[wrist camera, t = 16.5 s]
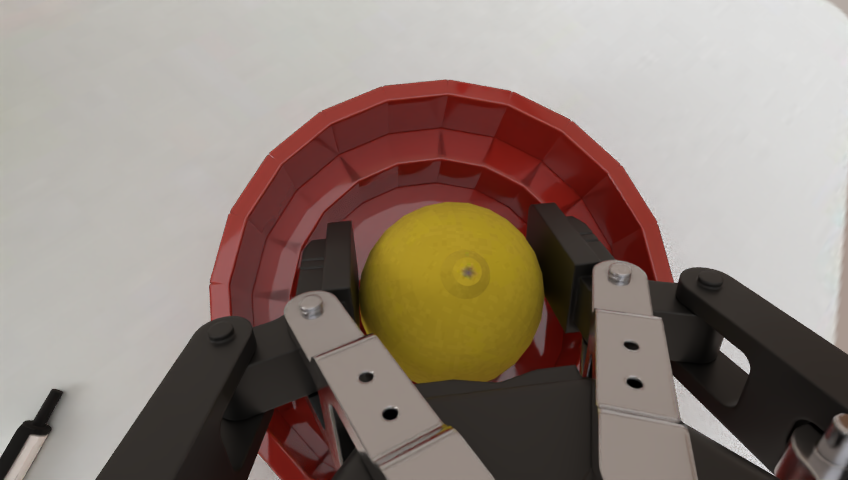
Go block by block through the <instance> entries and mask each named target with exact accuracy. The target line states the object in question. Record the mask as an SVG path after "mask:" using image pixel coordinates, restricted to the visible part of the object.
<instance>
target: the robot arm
mask: <svg viewBox="0 0 848 480" xmlns="http://www.w3.org/2000/svg"><path fill="white" fill-rule="evenodd" d="M526 240H527V241H528V243H529V244H530V246H531V247H532V249H533V251H534V252H535V254H536V257H537V260H538V263H539V266H540V268H541V271H542V276H543V286H544V295H545V297H546V299H547V301H548V303H549V304H550V306H551V308H552V310H553V312H554V313H555V315H556V317H557V319H558V321H559V323H560V324H561V326H562V328H563V330H564V332H565V333H573V332H580V333H581V334H582V338H581V344H580V363H579V370H578V368H577V366H576V365H568V366H560V367H551V368H543V369H536V370H533V371H530V372H527V373H524V374H522V375H519V376H516V377H513V378H510V379H507V380H505V381H502V382H481V381H469V380H456V379H452V380H444V381H436V382H427V383H419V384H413V383H412V381H411V380H410V379H409V377H408V376H407V375H406V373H405V372H404V371H403V370H402V368H401V367H400V366H399V364H398V363H397V362H396V360H395V359H394V358H393V356H392V355H391V354H390V352H389V351H388V350H387V348H386V347H385V346H384V344H383V343H382V342H381V341H380V339H379V338H378V337H377V336H376V335H375V334H374V333H370V334H368V335H364V334H363V333H362V331H361V330H360V314H359V275H358V265H357V257H356V250H355V242H354V234H353V227H352V221H342V222H331V223H328V224H327V233H326V239H318V240H311V241H310V243H309V244H308V245H307V246H306V247H305V248H304V249H303V254H302V262H301V266H300V272H299V278H298V284H297V290H296V296H295V297H294V298H292V299H291V300H290V301H289V302H288V303H287V304H286V306H285V308H284V315H283V316H281V317H279V318H277V319H275V320H273V321H270V322H268V323H265V324H261V325H258V326H255V327H252V325H251V323H250V322H249V320H247V319H246V318H243V317H239V316H226V317H221V318H217V319H215V320H212V321H210V322H208V323H206V324H205V325H203V326H202V327H200V328H199V329H198V330H197V331H196V332H195V334H194V335H193V336H192V338H191V339H190V341H189V342H188V344H187V345H186V347H185V348H184V350H183V351H182V353H181V354H180V356H179V357H178V359H177V360H176V361H175V363H174V364H173V366H172V367H171V369H170V370H169V372H168V373H167V375H166V376H165V378H164V379H163V381H162V382H161V384H160V385H159V387H158V388H157V389H156V391H155V392H154V394H153V395H152V397H151V398H150V400H149V401H148V403H147V404H146V406H145V407H144V409H143V410H142V412H141V413H140V415H139V416H138V417H137V419H136V420H135V422H134V423H133V425H132V426H131V428H130V429H129V431H128V432H127V434H126V435H125V437H124V438H123V440H122V441H121V443H120V444H119V446H118V447H117V448H116V450H115V451H114V453H113V454H112V456H111V457H110V459H109V460H108V462H107V463H106V465H105V466H104V468H103V469H102V471H101V472H100V474H99V475H98V476H97V478H96V479H95V480H247V479H248V477H249V474H250V472H251V469H252V466H253V464H254V461H255V459H256V456H257V454H258V451H259V449H260V446H261V444H262V441H263V439H264V436H265V434H266V431H267V428H268V426H269V423H270V421H271V418H272V416H273V413H274V408H277V407H279V406H282V405H284V404H287V403H289V402H292V401H295V400H297V399H300V398H302V397H305V399H306V401H307V403H308V406H309V408H310V410H311V412H312V414H313V416H314V418H315V420H316V422H317V424H318V426H319V428H320V430H321V432H322V434H323V436H324V438H325V441H326V443H327V445H328V448H329V450H330V453H331V456H332V460H333V463H334V465H335V468H336V471H337V472H336V473H335V475H334V476H333V477H332V479H331V480H848V354H846V353H845V352H843V351H842V350H840V349H839V348H837V347H836V346H834V345H833V344H831V343H830V342H828V341H827V340H825V339H824V338H822V337H821V336H819V335H818V334H816V333H815V332H813V331H812V330H810V329H809V328H807V327H806V326H804V325H803V324H801V323H800V322H798V321H797V320H795V319H794V318H792V317H791V316H789V315H788V314H786V313H785V312H783V311H782V310H780V309H779V308H777V307H776V306H774V305H773V304H771V303H770V302H768V301H767V300H765V299H764V298H762V297H761V296H759V295H758V294H756V293H755V292H753V291H752V290H750V289H749V288H747V287H746V286H744V285H743V284H741V283H740V282H738V281H737V280H735V279H733V278H732V277H730V276H729V275H727V274H725V273H723V272H720V271H717V270H714V269H709V268H701V267H696V268H689V269H686V270H684V271H683V272H682V273H681V275H680V278H679V281H678V283H671V282H661V281H652V280H648V278H647V275H646V273H645V272H644V271H643V270H642V269H641V268H639V267H638V266H636V265H634V264H632V263H629V262H625V261H620V260H616V259H615V258H614V257H613V256H612V255H611V253H610V252H609V251H608V250H607V249H606V247H605V246H604V245H603V244H602V243H601V241H599V240H598V238H597V237H596V236H595V234H593V233H592V231H591V230H590V228H589V227H588V226H587V225H586V224H585V223H584V222H582V221H580V220H579V219H577V218H575V217H573V216H565V214H564V213H563V212H562V211H561V209H560V208H559V207H558V206H557V204H556V203H554V202H552V203H541V204H531V205H530V207H529V210H528V220H527V233H526ZM723 338H726V339H727V340H728V341H729V342H731V343H732V344H733V345H734V346H736V347H737V348H738V349H739V350H741V351H742V352H743V353H744V354H745V356H746V357H747V359H748V361H749V363H750V373H749V375H748V374H747V373H746V372H745V371H744V370H742V369H741V368H740V367H739V366H738V365H736V364H735V363H734V362H733V361H732V360H730V359H729V358H728V357H727V356H726V355H724V354H723V353H722V352H721V351H720V350H719V349H720V347H721V344H722V341H723ZM673 376H674V377H675V378H676V379H677V380H678V381H679V382H680V383H681V384H682V385H683V386H684V387H685V388H686V389H687V390H688V391H689V392H690V393H691V394H693V395H694V396H695V397H696V398H697V399H698V400H699V401H700V402H701V403H702V404H703V405H704V406H705V407H706V408H707V409H708V410H709V411H710V412H711V413H712V414H713V415H714V416H715V417H716V418H717V419H718V420H719V421H720V422H721V423H722V424H723V425H724V426H725V427H726V428H727V429H728V430H729V431H730V432H731V433H732V434H733V435H734V436H735V437H736V438H737V439H738V440H739V441H740V442H741V443H742V444H743V445H744V446H745V447H746V448H747V449H748V450H749V451H750V452H751V453H752V454H753V455H754V456H755V457H756V458H757V459H759V460H760V461H761V462H762V463H763V464H764V465H765V466H766V467H767V468H768V469H769V470H770V471H771V472H772V473H773V474H774V475H775V476H774V475H772V474H770V473H769V472H767V471H765V470H764V469H762V468H760V467H758V466H757V465H755V464H753V463H752V462H750V461H748V460H746V459H745V458H743V457H741V456H739V455H738V454H736V453H734V452H733V451H731V450H729V449H727V448H726V447H724V446H722V445H721V444H719V443H717V442H715V441H714V440H712V439H710V438H708V437H707V436H705V435H703V434H702V433H700V432H698V431H696V430H695V429H693V428H691V427H690V426H688V425H686V424H685V423H683V422H682V421H681V418H680V414H679V408H678V403H677V397H676V392H675V386H674V380H673Z"/></svg>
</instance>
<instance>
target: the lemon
mask: <svg viewBox="0 0 848 480" xmlns="http://www.w3.org/2000/svg"><path fill="white" fill-rule="evenodd" d="M544 298H545V296H544V286H543V276H542V271H541V268H540V266H539V263H538V260H537V257H536V254H535V252H534V251H533V249H532V247H531V246H530V244H529V243H528V241H527V240H526V238H525V237H524V235H523V234H522V233H521V232H520V231H519V230H518V229H517V228H516V227H515V226H513V225H512V224H511V223H510V222H509V221H508V220H507V219H505V218H503V217H502V216H500V215H498V214H496V213H495V212H493V211H491V210H489V209H487V208H483V207H480V206H477V205H473V204H470V203H460V202H444V203H439V204H433V205H428V206H424V207H422V208H420V209H417V210H415V211H413V212H411V213H409V214H407V215H404V216H403V217H402V218H400V219H399V220H398V221H397V222H395V223H394V224H393V225H392V226H391V227H389V228H388V229H387V230H386V231H385V232H384V233H383V234H382V236H381V237H380V238H379V240H378V241H377V243H376V244H375V245H374V247H373V248H372V249H371V251H370V253H369V256H368V258H367V261H366V263H365V266H364V268H363V270H362V273H361V280H360V287H359V306H360V314H361V321H362V324H363V326H364V329H365V331H366V334H367V335H368V334H370V333H374V334H375V335H376V336H377V337H378V338H379V339H380V341H381V342H382V343H383V344H384V346H385V347H386V348H387V350H388V351H389V352H390V354H391V355H392V356H393V358H394V359H395V360H396V362H397V363H398V364H399V366H400V367H401V368H402V370H403V371H404V372H405V373H406V375H407V376H408V377H409V379H410V380H411V381H414V382H416V383H418V384H419V383H427V382H436V381H444V380H452V379H456V380H469V381H481V382H487V381H490V380H493V379H495V378H496V377H498V376H499V375H500V374H502V373H503V372H504V371H506V370H507V369H509V368H510V367H511V366H513V365H514V364H515V363H516V362H517V361H518V359H519V358H520V357H521V356H522V354H523V353H524V352H525V351H526V349H527V348H528V347H529V346H530V344H531V342H532V340H533V338H534V335H535V333H536V331H537V329H538V326H539V324H540V321H541V317H542V311H543V304H544Z"/></svg>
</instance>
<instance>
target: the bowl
mask: <svg viewBox="0 0 848 480" xmlns="http://www.w3.org/2000/svg"><path fill="white" fill-rule="evenodd" d="M444 202H460V203H470V204H473V205H477V206H480V207H483V208H487V209H489V210H491V211H493V212H495V213H496V214H498V215H500V216H502V217H503V218H505V219H507V220H508V221H509V222H510V223H511V224H512V225H513V226H515V227H516V228H517V229H518V230H519V231H520V232H521V233H522V234H523V235H524V237H525V238H526V233H527V220H528V210H529V207H530V205H531V204H541V203H552V202H554V203H556V204H557V206H558V207H559V208H560V209H561V211H562V212H563V213H564V214H565V216H573V217H575V218H577V219H579V220H580V221H582V222H584V223H585V224H586V225H587V226H588V227H589V228H590V230H591V231H592V233H593V234H595V236H596V237H597V238H598V240H599V241H601V243H602V244H603V245H604V246H605V247H606V249H607V250H608V251H609V252H610V253H611V255H612V256H613V257H614V258H615V259H616V260H620V261H625V262H629V263H632V264H634V265H636V266H638V267H639V268H641V269H642V270H643V271H644V272H645V273H646V275H647V278H648V280H652V281H661V282H671V283H674V281H673V277H672V274H671V270H670V266H669V263H668V259H667V255H666V252H665V248H664V244H663V241H662V237H661V234H660V230H659V226H658V224H657V221H656V219H655V218H654V216H653V214H652V213H651V211H650V210H649V208H648V206H647V205H646V203H645V202H644V200H643V198H642V197H641V195H640V193H639V192H638V190H637V189H636V187H635V185H634V184H633V182H632V181H631V179H630V177H629V176H628V174H627V173H626V171H625V169H624V168H623V166H620V163H619V162H617V161H616V160H615V159H614V158H613V157H612V156H611V155H610V154H609V153H607V152H606V151H605V150H604V149H603V148H602V147H601V146H600V145H599V144H597V143H596V142H595V141H594V140H593V139H592V138H591V137H590V136H589V135H587V134H586V133H585V132H584V131H583V130H582V129H581V128H580V127H579V126H577V125H576V124H575V123H574V122H573V121H571V120H570V119H568V118H566V117H564V116H562V115H560V114H558V113H556V112H554V111H552V110H550V109H548V108H546V107H544V106H542V105H540V104H538V103H536V102H534V101H531V100H529V99H527V98H525V97H523V96H521V95H519V94H517V93H515V92H511V91H509V90H504V89H498V88H493V87H487V86H482V85H476V84H471V83H465V82H460V81H454V80H436V81H426V82H416V83H406V84H396V85H387V86H383V87H379V88H376V89H374V90H371V91H369V92H367V93H364V94H362V95H359V96H357V97H354V98H352V99H349V100H347V101H344V102H342V103H340V104H337V105H335V106H332V107H330V108H327V109H325V110H323V111H322V112H319V113H318V114H317V115H315V116H314V117H313V118H312V119H310V120H309V121H308V122H307V123H306V124H304V125H303V126H302V127H301V128H299V129H298V130H297V131H296V132H294V133H293V134H292V135H291V136H289V137H288V138H287V139H286V140H285V141H283V142H282V143H281V144H280V145H278V146H277V147H276V148H275V149H273V150H272V151H271V152H270V153H269V155H267V156H266V158H265V159H264V161H263V162H262V164H261V165H260V167H259V168H258V170H257V171H256V173H255V174H254V176H253V177H252V179H251V180H250V182H249V183H248V185H247V186H246V188H245V189H244V191H243V192H242V194H241V195H240V197H239V199H238V200H237V202H236V203H235V205H234V206H233V208H232V209H231V211H230V213H231V214H229V215H228V218H227V222H226V225H225V229H224V232H223V236H222V240H221V243H220V247H219V250H218V254H217V257H216V261H215V264H214V268H213V272H212V275H211V279H210V283H211V284H210V285H209V293H210V314H211V321H212V320H215V319H217V318H221V317H226V316H239V317H243V318H246V319H247V320H249V322H250V323H251V325H252V327H255V326H258V325H261V324H265V323H268V322H270V321H273V320H275V319H277V318H279V317H281V316H283V315H284V308H285V306H286V304H287V303H288V302H289V301H290V300H291V299H292V298H294V297H295V296H296V290H297V284H298V278H299V272H300V266H301V262H302V254H303V249H304V248H305V247H306V246H307V245H308V244H309V243H310V241H311V240H318V239H326V233H327V224H328V223H331V222H342V221H352V227H353V234H354V242H355V250H356V257H357V265H358V275H359V287H360V280H361V273H362V270H363V268H364V266H365V263H366V261H367V258H368V256H369V253H370V251H371V249H372V248H373V247H374V245H375V244H376V243H377V241H378V240H379V238H380V237H381V236H382V234H383V233H384V232H385V231H386V230H387V229H388V228H389V227H391V226H392V225H393V224H394V223H395V222H397V221H398V220H399V219H400V218H402V217H403V216H404V215H407V214H409V213H411V212H413V211H415V210H417V209H420V208H422V207H424V206H428V205H433V204H439V203H444ZM544 296H545V295H544ZM359 314H360V306H359ZM360 330H361V331H362V333H363V334H364V335H367V334H366V331H365V329H364V326H363V324H362V321H361V314H360ZM581 338H582V334H581V333H580V332H573V333H565V332H564V330H563V328H562V326H561V324H560V323H559V321H558V319H557V317H556V315H555V313H554V312H553V310H552V308H551V306H550V304H549V303H548V301H547V299H546V297H545V298H544V304H543V311H542V317H541V321H540V324H539V326H538V329H537V331H536V333H535V335H534V338H533V340H532V342H531V344H530V346H529V347H528V348H527V349H526V351H525V352H524V353H523V354H522V356H521V357H520V358H519V359H518V361H517V362H516V363H515V364H514V365H513V366H511V367H510V368H509V369H507V370H506V371H504V372H503V373H502V374H500V375H499V376H498V377H496V378H495V379H493V380H490V381H487V382H502V381H505V380H507V379H510V378H513V377H516V376H519V375H522V374H524V373H527V372H530V371H533V370H536V369H543V368H551V367H560V366H568V365H576V366H577V368H578V370H579V363H580V344H581ZM412 383H413V384H418V383H416V382H414V381H412ZM258 454H259V455H260V456H261V457H262V459H263V460H264V461H265V462H266V463H267V464H268V466H269V467H270V468H271V469H272V470H273V471H274V472H275V474H276V475H277V476H278V477H279V478H280V479H281V480H331V479H332V477H333V476H334V475H335V473H336V472H337V471H336V468H335V465H334V463H333V460H332V456H331V453H330V450H329V448H328V445H327V443H326V441H325V438H324V436H323V434H322V432H321V430H320V428H319V426H318V424H317V422H316V420H315V418H314V416H313V414H312V412H311V410H310V408H309V406H308V403H307V401H306V399H305V397H302V398H300V399H297V400H295V401H292V402H289V403H287V404H284V405H282V406H279V407H277V408H274V413H273V416H272V418H271V421H270V423H269V426H268V428H267V431H266V434H265V436H264V439H263V441H262V444H261V446H260V449H259V451H258Z"/></svg>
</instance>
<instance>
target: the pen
mask: <svg viewBox="0 0 848 480" xmlns="http://www.w3.org/2000/svg"><path fill="white" fill-rule="evenodd" d="M62 394H63V392H62V391H60V390H57V389H52V390H51V392H50V393H49V395H48V397H47V398H46V400H45V402H44V403H43V405H42V407H41V409H40V410H39V412H38V414H37V415H36V417H35V419H34V420H27V421H24V422H23V424H22V425H21V426H20V427H19V428H18V429H17V431H16V432H15V434H14V436H13V437H12V439H11V441H10V442H9V444H8V446H7V447H6V449H5V451H4V453H3V454H2V456H1V458H0V480H23V478H24V476H25V474H26V473H27V471H28V469H29V467H30V466H31V464H32V462H33V460H34V459H35V457H36V455H37V453H38V452H39V450H40V448H41V446H42V445H43V443H44V441H45V439H46V438H47V436H48V434H49V432H50V431H51V427H50V426H49V425H47V424H46V422H47V420H48V419H49V417H50V415H51V413H52V412H53V410H54V408H55V406H56V405H57V403H58V401H59V399H60V397H61V396H62Z"/></svg>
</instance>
